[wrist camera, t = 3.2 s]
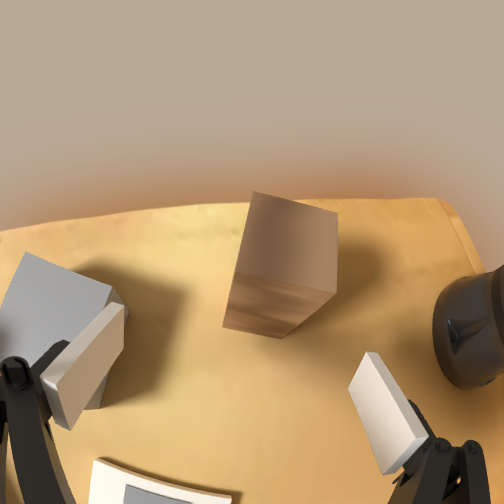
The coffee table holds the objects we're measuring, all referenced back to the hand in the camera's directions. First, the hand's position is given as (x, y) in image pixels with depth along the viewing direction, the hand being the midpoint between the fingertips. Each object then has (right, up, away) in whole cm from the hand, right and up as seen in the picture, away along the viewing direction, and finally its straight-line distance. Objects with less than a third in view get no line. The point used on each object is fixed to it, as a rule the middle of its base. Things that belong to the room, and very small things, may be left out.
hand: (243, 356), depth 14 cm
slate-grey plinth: (-17, -3, +8) cm, 19 cm away
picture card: (-8, -18, +1) cm, 20 cm away
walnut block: (+1, 0, +13) cm, 13 cm away
